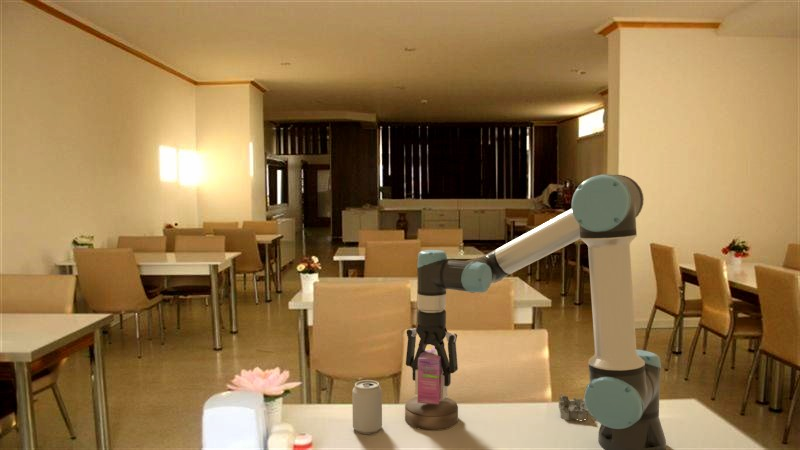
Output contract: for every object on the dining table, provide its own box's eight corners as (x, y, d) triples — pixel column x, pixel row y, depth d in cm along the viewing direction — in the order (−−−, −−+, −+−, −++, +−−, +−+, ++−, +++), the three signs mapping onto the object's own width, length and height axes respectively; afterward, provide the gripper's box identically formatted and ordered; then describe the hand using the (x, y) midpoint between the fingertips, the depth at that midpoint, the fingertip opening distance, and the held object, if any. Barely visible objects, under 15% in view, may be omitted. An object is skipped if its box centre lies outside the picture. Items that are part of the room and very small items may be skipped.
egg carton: (558, 406, 170) (559, 391, 170) (586, 408, 168) (587, 394, 168) (557, 420, 160) (558, 405, 160) (587, 423, 158) (587, 408, 158)
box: (439, 404, 154) (439, 359, 153) (417, 403, 156) (417, 358, 155) (445, 390, 164) (444, 347, 163) (424, 389, 166) (424, 346, 165)
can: (385, 424, 157) (385, 379, 156) (376, 436, 150) (376, 389, 149) (358, 421, 159) (358, 377, 158) (348, 433, 152) (347, 387, 151)
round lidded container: (465, 414, 163) (465, 400, 163) (445, 434, 151) (445, 419, 151) (419, 405, 170) (419, 392, 170) (395, 424, 158) (395, 409, 157)
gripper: (472, 310, 157) (471, 396, 159) (404, 302, 166) (404, 384, 168) (461, 316, 150) (460, 406, 152) (391, 308, 159) (391, 393, 161)
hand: (431, 394), depth 160 cm, fingers closed on box, 7 cm apart
